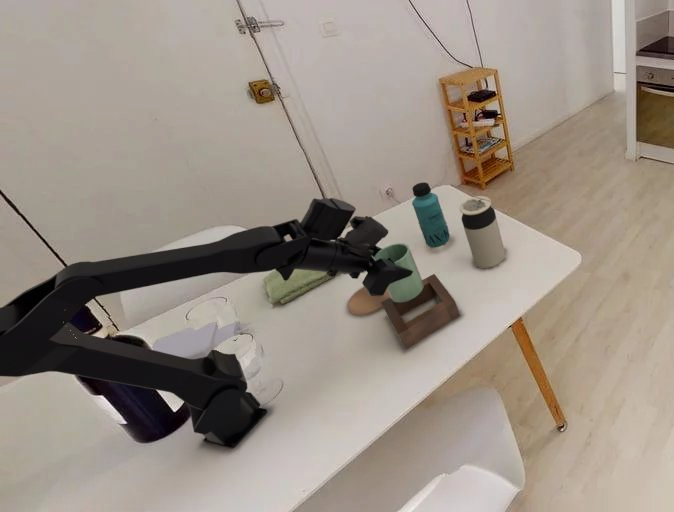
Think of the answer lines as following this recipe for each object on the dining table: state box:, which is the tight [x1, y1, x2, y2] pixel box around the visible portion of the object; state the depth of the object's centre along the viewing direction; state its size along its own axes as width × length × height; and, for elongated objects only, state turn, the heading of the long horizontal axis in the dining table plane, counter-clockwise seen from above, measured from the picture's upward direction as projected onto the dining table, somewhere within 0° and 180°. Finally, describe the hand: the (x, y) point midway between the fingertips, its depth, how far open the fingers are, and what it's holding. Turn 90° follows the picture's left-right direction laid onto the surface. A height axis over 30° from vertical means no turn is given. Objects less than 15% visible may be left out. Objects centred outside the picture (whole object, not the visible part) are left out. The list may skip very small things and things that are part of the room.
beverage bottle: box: [411, 181, 451, 249], centre depth 111 cm, size 6×7×20 cm
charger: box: [151, 320, 251, 359], centre depth 87 cm, size 5×9×15 cm
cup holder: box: [381, 273, 461, 350], centre depth 93 cm, size 12×12×5 cm
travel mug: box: [459, 195, 506, 269], centre depth 106 cm, size 8×8×18 cm
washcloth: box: [262, 269, 340, 305], centre depth 106 cm, size 13×18×3 cm
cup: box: [374, 242, 424, 303], centre depth 89 cm, size 7×7×11 cm
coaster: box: [348, 286, 390, 316], centre depth 99 cm, size 10×10×1 cm
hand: (404, 265), depth 90 cm, fingers closed on cup, 7 cm apart
